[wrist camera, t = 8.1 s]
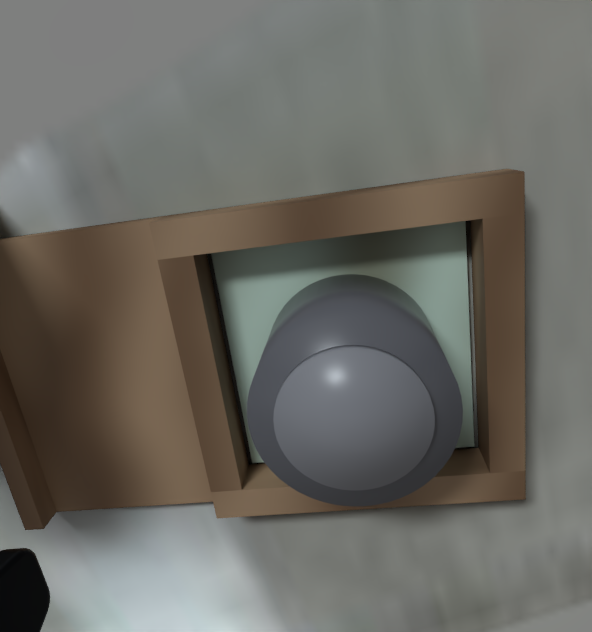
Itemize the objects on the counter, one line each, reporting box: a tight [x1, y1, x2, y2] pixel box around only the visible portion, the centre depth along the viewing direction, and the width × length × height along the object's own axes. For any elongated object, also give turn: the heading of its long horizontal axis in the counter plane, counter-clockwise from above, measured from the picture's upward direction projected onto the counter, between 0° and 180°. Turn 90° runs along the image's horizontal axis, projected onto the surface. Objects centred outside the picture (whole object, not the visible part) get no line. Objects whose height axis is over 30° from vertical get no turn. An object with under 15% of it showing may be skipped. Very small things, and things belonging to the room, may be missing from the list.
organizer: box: [0, 169, 526, 530], centre depth 19 cm, size 19×11×2 cm, turn 98°
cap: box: [247, 274, 463, 506], centre depth 16 cm, size 6×6×5 cm
